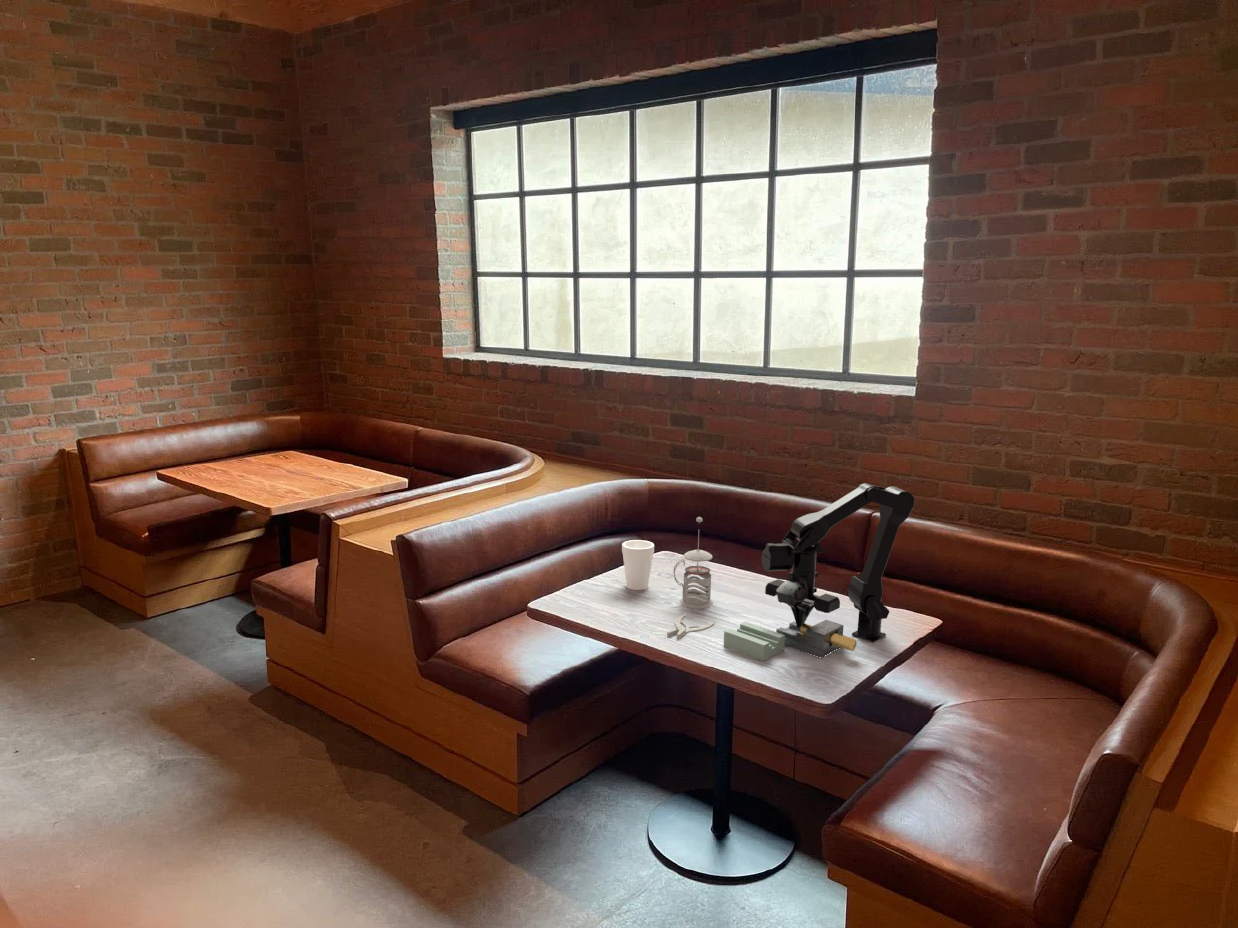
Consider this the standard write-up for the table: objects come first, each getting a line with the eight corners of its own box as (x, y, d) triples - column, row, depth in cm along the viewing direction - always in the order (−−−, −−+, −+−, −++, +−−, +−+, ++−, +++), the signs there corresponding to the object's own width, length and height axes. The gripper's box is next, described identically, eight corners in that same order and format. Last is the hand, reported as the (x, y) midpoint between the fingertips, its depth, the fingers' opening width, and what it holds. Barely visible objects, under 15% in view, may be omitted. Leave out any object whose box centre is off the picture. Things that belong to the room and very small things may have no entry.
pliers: (716, 618, 232) (690, 637, 220) (715, 624, 232) (690, 643, 220) (683, 611, 237) (656, 629, 225) (682, 616, 238) (655, 634, 225)
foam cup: (658, 585, 261) (659, 543, 259) (643, 593, 254) (643, 551, 251) (631, 579, 266) (632, 538, 264) (615, 587, 258) (616, 545, 256)
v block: (744, 636, 224) (745, 621, 223) (784, 650, 216) (785, 635, 215) (723, 646, 218) (724, 631, 217) (763, 660, 209) (764, 645, 209)
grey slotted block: (795, 630, 228) (796, 609, 227) (843, 646, 218) (844, 624, 217) (773, 641, 221) (774, 619, 220) (821, 658, 211) (823, 635, 210)
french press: (715, 608, 243) (718, 522, 238) (673, 608, 243) (676, 521, 238) (712, 596, 252) (715, 512, 247) (672, 595, 252) (674, 512, 247)
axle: (805, 634, 221) (807, 622, 221) (855, 650, 212) (857, 638, 211) (799, 635, 219) (800, 624, 219) (849, 651, 210) (851, 639, 209)
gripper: (753, 566, 218) (750, 625, 221) (818, 585, 205) (814, 647, 208) (779, 557, 226) (776, 614, 229) (843, 575, 213) (838, 635, 216)
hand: (799, 627), depth 221 cm, fingers closed
